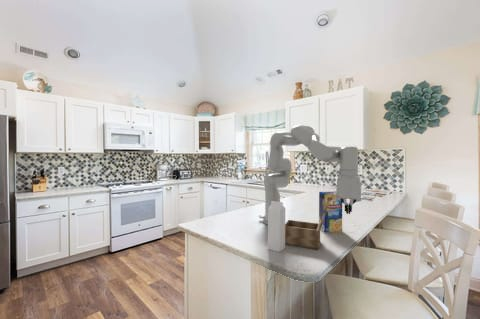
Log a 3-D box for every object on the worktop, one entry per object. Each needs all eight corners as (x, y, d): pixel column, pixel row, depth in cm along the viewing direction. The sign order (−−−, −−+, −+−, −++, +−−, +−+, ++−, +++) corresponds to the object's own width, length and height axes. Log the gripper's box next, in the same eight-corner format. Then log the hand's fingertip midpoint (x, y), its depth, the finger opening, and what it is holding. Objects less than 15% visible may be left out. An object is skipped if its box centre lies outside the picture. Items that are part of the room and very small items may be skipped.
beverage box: (342, 231, 132) (342, 193, 131) (324, 232, 130) (324, 193, 130) (335, 227, 139) (335, 191, 138) (318, 228, 137) (319, 191, 137)
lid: (328, 197, 103) (332, 198, 102) (329, 193, 114) (333, 194, 113) (318, 230, 104) (322, 231, 104) (320, 222, 116) (324, 224, 115)
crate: (283, 244, 111) (283, 226, 111) (288, 236, 122) (288, 219, 122) (318, 250, 105) (318, 230, 105) (320, 241, 116) (320, 223, 116)
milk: (273, 245, 111) (274, 199, 110) (285, 248, 107) (285, 201, 107) (267, 249, 106) (267, 201, 106) (279, 252, 102) (279, 203, 102)
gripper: (330, 173, 104) (330, 213, 105) (368, 174, 98) (367, 217, 99) (331, 172, 111) (330, 209, 111) (366, 173, 105) (365, 213, 105)
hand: (348, 213), depth 105 cm, fingers closed
